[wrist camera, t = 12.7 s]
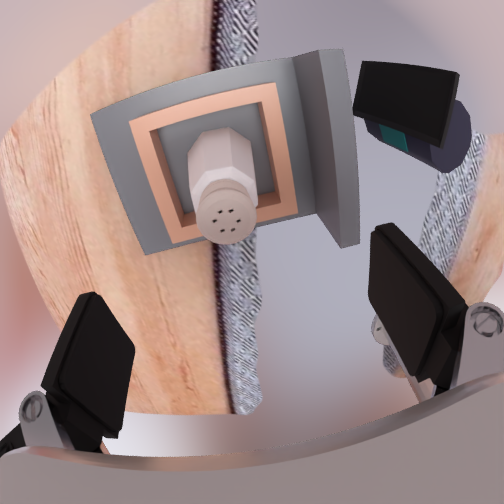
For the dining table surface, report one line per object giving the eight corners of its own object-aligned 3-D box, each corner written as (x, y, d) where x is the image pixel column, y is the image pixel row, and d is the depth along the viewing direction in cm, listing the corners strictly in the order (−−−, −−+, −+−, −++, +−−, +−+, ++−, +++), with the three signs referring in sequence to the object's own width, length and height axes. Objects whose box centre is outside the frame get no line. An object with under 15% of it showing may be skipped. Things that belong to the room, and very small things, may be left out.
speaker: (331, 109, 21) (416, 136, 13) (362, 59, 19) (454, 66, 11) (386, 152, 25) (465, 195, 16) (412, 107, 23) (495, 136, 14)
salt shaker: (267, 168, 23) (304, 234, 14) (211, 201, 24) (211, 286, 15) (232, 113, 20) (247, 138, 11) (173, 150, 21) (143, 207, 12)
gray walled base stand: (307, 56, 19) (343, 48, 13) (328, 205, 27) (359, 243, 21) (94, 112, 19) (54, 127, 13) (147, 249, 27) (132, 297, 21)
